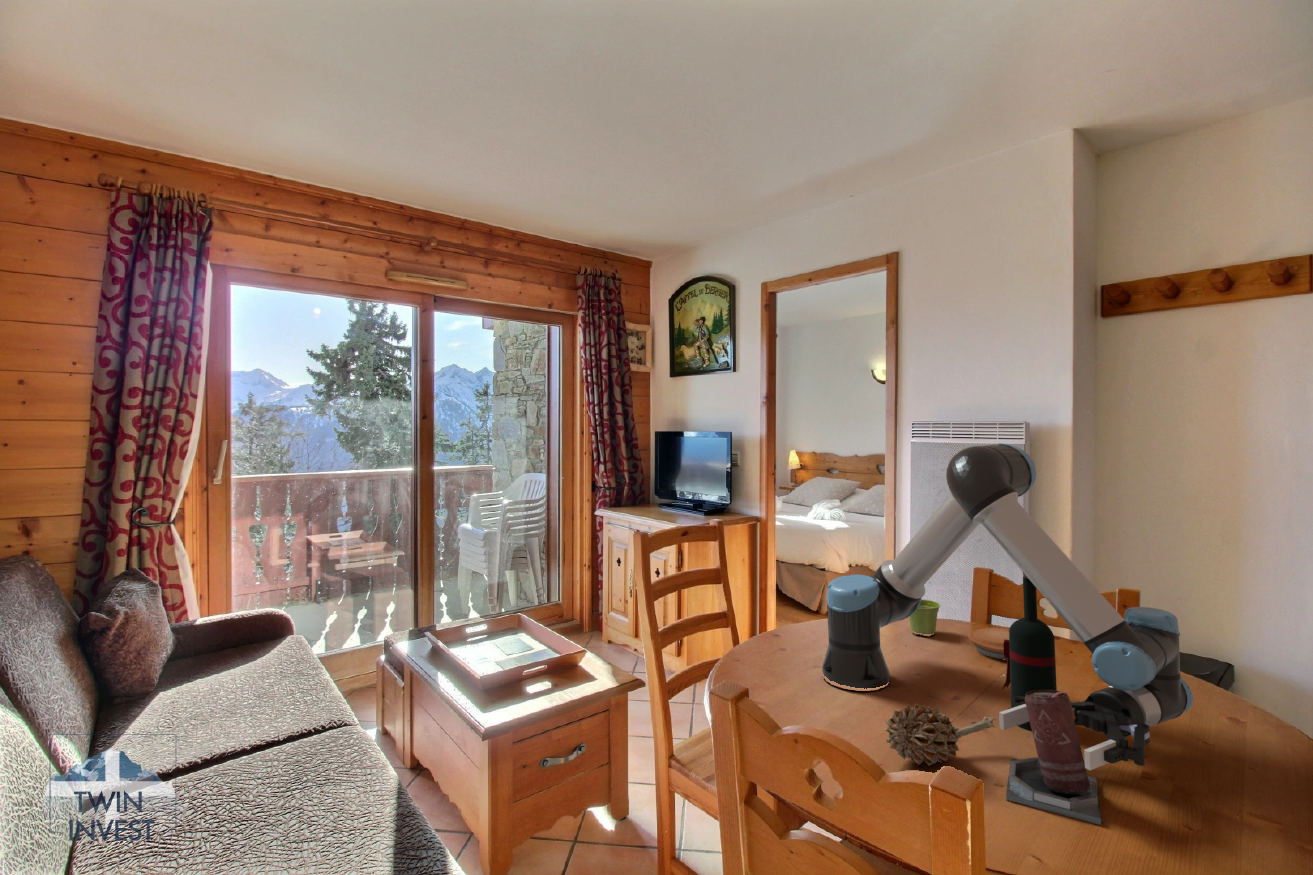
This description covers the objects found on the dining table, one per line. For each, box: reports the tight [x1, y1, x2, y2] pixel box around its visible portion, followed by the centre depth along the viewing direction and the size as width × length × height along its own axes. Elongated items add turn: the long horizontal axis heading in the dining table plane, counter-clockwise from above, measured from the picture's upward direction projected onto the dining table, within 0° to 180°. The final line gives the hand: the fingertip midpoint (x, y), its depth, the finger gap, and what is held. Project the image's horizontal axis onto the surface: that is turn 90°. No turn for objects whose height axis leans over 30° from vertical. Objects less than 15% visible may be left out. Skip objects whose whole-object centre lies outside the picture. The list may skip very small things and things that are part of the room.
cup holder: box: [1005, 757, 1102, 826], centre depth 96 cm, size 12×12×2 cm
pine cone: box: [883, 703, 997, 766], centre depth 107 cm, size 22×10×10 cm, turn 109°
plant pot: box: [908, 598, 941, 634], centre depth 170 cm, size 9×9×9 cm
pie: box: [967, 627, 1010, 661], centre depth 154 cm, size 16×16×5 cm
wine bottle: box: [1001, 570, 1058, 732], centre depth 119 cm, size 8×10×30 cm
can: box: [1025, 690, 1090, 794], centre depth 96 cm, size 6×6×14 cm
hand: (1041, 739), depth 95 cm, fingers open, 13 cm apart
